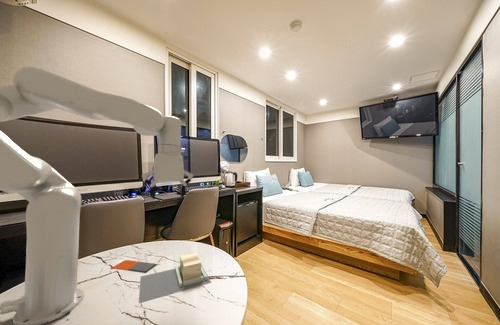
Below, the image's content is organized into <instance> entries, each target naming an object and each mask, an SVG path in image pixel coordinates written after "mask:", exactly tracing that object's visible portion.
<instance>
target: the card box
mask: <svg viewBox="0 0 500 325" xmlns="http://www.w3.org/2000/svg"><path fill="white" fill-rule="evenodd" d="M179 265H180V273H181V276H182V279H183V281H186V280H190V279H193V278H197V277H201V265H202V261H201V260H200V258H199V256H198V254H197V253H196V252H195V253H190V254H184V255H180V257H179Z"/></svg>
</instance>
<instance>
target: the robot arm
mask: <svg viewBox="0 0 500 325" xmlns="http://www.w3.org/2000/svg"><path fill="white" fill-rule="evenodd" d="M54 109H58V110H62V111H65V112H68V113H71V114H75V115H77V116H80V117H84V118H87V119H91V120H98V121H101V120H102V121H103V120H104V121H105V120H106V121H108V120H109V121H110V120H111V121H116V122H121V123H124V124H128V125H131V126H132V127H133V130H134V131H135V132H136V133H137V134H138V135H139V134H140V135H141V136H147V137H149V136H151V137H154V136H155V137H156V136H158V150H157V152H158V153H156V154H155V157H154V162H153V169H151V170H149V171H148V172H145V173H143V174H141V178H142V179H143V181H144V183H145V184H146V185H148V187H149V188H150V197H152V199H153V200H154V199H156V187H155V185H157V183H160V182H165V183H166V182H171V183H173V182H179V184H180V185H181V186H180V197H181V198H184V197H185V196H186V191H187V190H186V187H187V185H188V184H190V182H192V181H191V180H193V177H194V174H193V173H191V172H189V171H187V170H185V167H184V157H183V155H182V153H184V152H185V151H186V150H185V148H183V147H182V144H181V143H182V140H181V139H182V138H181V137H182V121H181V120H180V118H179V117H176V116H170V115H164V116H163V114H162V113H161V112H160V111H159V110H158V109H156V108H154V107H152V106H149V105H147V104H146V103H142V102H140V101H137V100H135V99H132V98H130V97H129V98H128V97H125V96H122V95H116V94H112V93H108V92H102V91H99V90H97V89H93V88H92V87H89V86H87V85H84V84H81V83H79V82H77V81H73V80H71V79H69V78H66V77H63V76H62V75H58V74H55V73H53V72H50V71H48V70H45V69H42V68H40V67H35V66H23V67H21V68H19V69H17V70H16V71H15V72H14V74H13V76H12V84H9V85H2V86H0V123H3V122H8V121H12V120H16V119H21V118H25V117H29V116H34V115H37V114H41V113H45V112H47V111H52V110H54ZM185 175H186V176H188V177H187V179H186V180H184V179H185ZM149 176H152V177H153V180H152V181H150V180H149V179H148V177H149ZM1 191H2V192H5V193H9V194H14V193H15V194H16V193H17V194H18V195H19V196H21V197H22V198H24V199H25V201H28V204H27V206H26V210H25V223H26V224H25V226H26V249H25V254H26V256H25V276H24V294H23V295H21V297H19V298H12V299H8V300H7V299H6V300H3V301H2V302H1V303H0V315H5V314H6V315H7V314H10V313H13V312H15V313H14V315H13V318H12V325H41V324H42V325H45V324H47V322H48V323H50V322H52V321H54V320H58V319H60V318H62V317H63V316H65V315H66V314H69V313H70V312H72V310H74V309H75V308H76V307H78V306H79V305H80V304H81V303H82V301H83V300H84V297H85V296H84V295H85V292H84V291H83V290H82V289H81V288H80V289H79V288H78V267H79V266H78V265H79V248H80V247H79V243H80V242H79V240H80V221H81V220H80V214H81V204H82V195H81V193H80V191H79V190H78V189H77V188H76V187H75V186H74V185H73V184H72V183H71V182H70V181H68V180H67V179H66V178H65V177H64V176H63V175H61V174H60V173H59V172H58V170H56V169H55V168H54V167H52V166H51V165H50V164H49V163H48V162H46V161H45V160H43V159H41V158H40V157H36V156H32V155H30V154H29V153H27V152H26V151H25V150H24V149H22V148H21V147H20V146H19V145H18V144H17V143H15V142H14V141H13V140H12V139H11V138H10V137H9V136H8V135H6V134H5V133H4V132H3V131H2V130H0V192H1ZM44 323H45V324H44Z"/></svg>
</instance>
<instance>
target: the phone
mask: <svg viewBox="0 0 500 325" xmlns="http://www.w3.org/2000/svg"><path fill="white" fill-rule="evenodd" d="M156 266H158V264H157V263H151V262H145V261H144V262H143V261H137V260H127V259H124V260H123V261H121V262H118V263H117V264H116V265H114V266H112V267H111V268H110V270H121V271H122V270H123V271H128V272H129V271H130V272H134V273H135V272H136V273H142V274H148V272H150V271H151V270H152V269H154V268H155V267H156Z"/></svg>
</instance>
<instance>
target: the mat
mask: <svg viewBox="0 0 500 325" xmlns="http://www.w3.org/2000/svg"><path fill="white" fill-rule="evenodd" d="M139 282H140V283H139V295H138V296H139V298H138V304H141V303H144V302H147V301H148V302H149V301H152V300H155V299H158V298H162V297H165V296H168V295H169V296H170V295H172V294H175V293H176V294H177V293H180V292H183V291H186V290H189V289H193V288H196V287H201V286H204V285H207V284H211V283H212V281H211V279H210V278H209V276H208V274H207V272H206V270H205V268H204V266H203V265H202V264H201V277H197V278H193V279H190V280H186V281H183V279H182V276H181V273H180V264H179V265H175V266H174V268H172V269H168V270H164V271H163V270H162V271H159V272H155V273H150V274H147V275H142V276H140V281H139Z"/></svg>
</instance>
